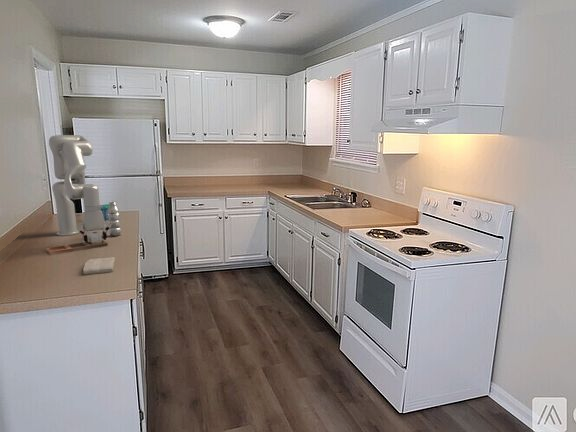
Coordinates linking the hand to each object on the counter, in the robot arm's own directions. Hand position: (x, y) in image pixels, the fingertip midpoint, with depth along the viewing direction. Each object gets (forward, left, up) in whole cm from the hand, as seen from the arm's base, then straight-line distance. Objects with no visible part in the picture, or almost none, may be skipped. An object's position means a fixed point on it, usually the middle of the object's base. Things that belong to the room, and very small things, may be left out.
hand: (95, 240), depth 217 cm
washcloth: (+43, -9, -3) cm, 44 cm away
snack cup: (-72, +26, -3) cm, 77 cm away
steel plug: (0, 0, -3) cm, 3 cm away
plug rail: (0, -9, -2) cm, 9 cm away
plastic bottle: (-16, +15, -3) cm, 22 cm away
